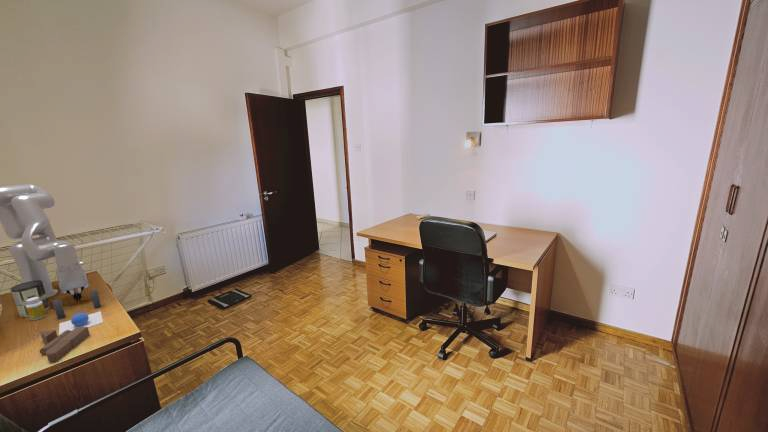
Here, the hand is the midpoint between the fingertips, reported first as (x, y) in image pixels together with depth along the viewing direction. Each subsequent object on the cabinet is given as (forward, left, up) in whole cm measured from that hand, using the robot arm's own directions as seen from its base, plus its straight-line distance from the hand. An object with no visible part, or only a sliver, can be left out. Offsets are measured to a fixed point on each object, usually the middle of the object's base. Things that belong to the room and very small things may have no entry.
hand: (78, 300), depth 157 cm
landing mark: (+27, 0, -2) cm, 27 cm away
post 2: (+13, +6, -2) cm, 15 cm away
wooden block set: (+44, -9, -2) cm, 45 cm away
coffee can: (-6, -15, -2) cm, 17 cm away
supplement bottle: (+4, -14, -2) cm, 15 cm away
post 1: (+13, -6, -2) cm, 15 cm away
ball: (+29, 0, +1) cm, 29 cm away
